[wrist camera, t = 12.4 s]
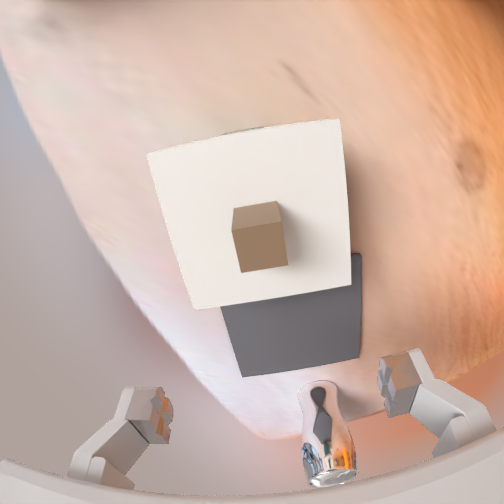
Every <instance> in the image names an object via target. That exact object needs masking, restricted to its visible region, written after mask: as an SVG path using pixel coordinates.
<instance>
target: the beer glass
mask: <svg viewBox="0 0 504 504" xmlns="http://www.w3.org/2000/svg"><path fill="white" fill-rule="evenodd" d="M297 398H298V401H299V404H300V406H301V409H302V413H303V429H302V460H303V466H304V471H305V475H306V479H307V485H308V486H310V487H313V488H321V487H327V486H333V485H338V484H343V483H347V482H349V481H351V480H353V479H354V478H356V477H357V476H358V474H359V472H358V466H357V458H356V452H355V447H354V443H353V439H352V436H351V434H350V431H349V429H348V427H347V425H346V423H345V421H344V419H343V417H342V414H341V412H340V409H339V406H338V394H337V387H336V385H335V384H334V383H332V382H329V381H315V382H311V383H309V384H307V385H305V386H303V387H302V388H301V389H300V390H299V392H298V395H297Z"/></svg>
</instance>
